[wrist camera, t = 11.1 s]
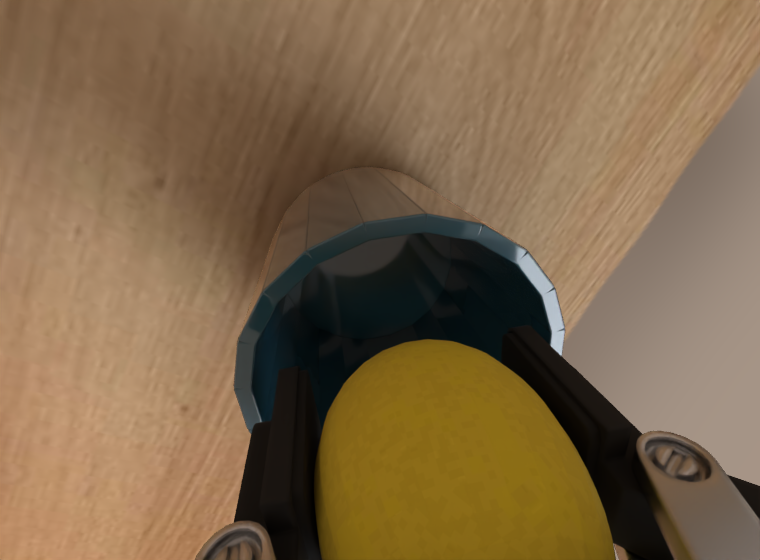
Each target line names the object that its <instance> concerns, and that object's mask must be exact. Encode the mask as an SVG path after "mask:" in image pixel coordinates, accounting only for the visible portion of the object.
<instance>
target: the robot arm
mask: <svg viewBox="0 0 760 560" xmlns="http://www.w3.org/2000/svg"><path fill="white" fill-rule="evenodd" d="M501 363H502V364H503V365H504V366H506V367H507V368H509V369H510V370H512V371H513V372H514V373H515V374H517V375H518V376H519V377H520V378H522V379H523V380H524V381H525V382H526V383H527V384H528V385H529V386H530V387H531V388H532V389H533V390H534V391H535V392H536V393H537V394H538V395H539V397H540V398H541V399H542V400H543V401H544V403H545V404H546V405H547V407H548V408H549V410H550V411H551V412H552V414H553V415H554V417H555V418H556V419H557V421H558V422H559V424H560V425H561V426H562V428H563V429H564V431H565V432H566V433H567V435H568V436H569V438H570V440H571V441H572V443H573V445H574V446H575V448H576V449H577V451H578V453H579V455H580V457H581V459H582V461H583V463H584V464H585V466H586V468H587V470H588V472H589V475H590V477H591V479H592V481H593V483H594V486H595V488H596V490H597V493H598V495H599V498H600V500H601V503H602V506H603V508H604V511H605V514H606V518H607V521H608V525H609V528H610V532H611V535H612V540H613V543H614V547H615V550H616V552H617V555H618V558H619V560H760V486H758V485H755V484H752V483H749V482H746V481H744V480H741V479H738V478H735V477H732V476H729V475H727V474H726V473H725V471H724V470H723V469H722V467H721V466H720V465H719V463H718V462H717V461H716V460H715V458H714V457H713V456H712V455H711V454H710V453H709V452H708V451H707V450H705V449H704V448H702V447H701V446H700V445H699V444H697V443H695V442H693V441H691V440H689V439H688V438H686V437H683V436H680V435H677V434H674V433H670V432H664V431H650V432H647V433H644V434H642V433H641V432H640V431H638V430H637V428H635V426H633V424H631V423H630V422H629V421H628V420H627V419H626V418H625V417H624V416H623V415H622V414H621V413H620V412H619V411H618V410H617V409H616V408H615V407H614V406H613V405H612V404H611V403H610V402H609V401H608V400H607V399H606V398H605V397H604V396H603V395H602V394H601V393H600V392H599V391H597V390H596V388H594V387H593V386H592V385H591V384H590V383H589V382H588V381H587V380H586V379H585V378H584V377H583V376H582V375H581V374H580V373H579V372H578V371H577V370H576V369H575V368H573V367H572V366H571V365H570V364H569V363H568V362H567V361H566V360H565V359H564V358H563V357H562V356H561V355H560V354H559V353H558V352H557V351H555V350H554V349H553V348H552V347H551V346H550V345H549V344H548V343H547V342H546V341H545V340H544V339H543V338H542V337H541V336H540V335H539V334H538V333H537V332H536V331H535V330H534V329H533V328H532V327H531V326H529V325H524V326H518V327H513V328H509V329H508V331H507V334H504V335H503V336H502V352H501ZM321 434H322V429H321V425H320V421H319V416H318V412H317V407H316V403H315V398H314V394H313V390H312V385H311V381H310V376H309V372H308V370H302V371H301V368H300V366H295V367H289V368H284V369H280V370H279V372H278V378H277V385H276V392H275V399H274V406H273V413H272V420H270V421H265V422H260V423H255V425H254V426H253V430H252V434H251V439H250V444H249V449H248V454H247V459H246V464H245V469H244V474H243V479H242V484H241V489H240V494H239V499H238V504H237V509H236V514H235V519H234V523H232V524H229V525H227V526H225V527H224V528H222V529H221V530H219V531H218V532H216V533H215V534H214V535H213V536H212V537H211V538H210V539H209V540H208V541H207V542H206V543H205V544H204V545H203V547H202V548H201V550H200V551H199V553H198V554H197V556H196V558H195V560H322V558H321V553H320V547H319V539H318V531H317V523H316V514H315V503H314V471H315V462H316V456H317V451H318V446H319V442H320V438H321Z"/></svg>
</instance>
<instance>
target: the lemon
mask: <svg viewBox="0 0 760 560" xmlns="http://www.w3.org/2000/svg"><path fill="white" fill-rule="evenodd" d="M314 503H315V514H316V523H317V531H318V539H319V547H320V553H321V558H322V560H616V558H615V552H614V546H613V540H612V535H611V532H610V528H609V525H608V521H607V518H606V514H605V511H604V508H603V506H602V503H601V500H600V498H599V495H598V493H597V490H596V488H595V486H594V483H593V481H592V479H591V477H590V475H589V472H588V470H587V468H586V466H585V464H584V463H583V461H582V459H581V457H580V455H579V453H578V451H577V449H576V448H575V446H574V445H573V443H572V441H571V440H570V438H569V436H568V435H567V433H566V432H565V431H564V429H563V428H562V426H561V425H560V424H559V422H558V421H557V419H556V418H555V417H554V415H553V414H552V412H551V411H550V410H549V408H548V407H547V405H546V404H545V403H544V401H543V400H542V399H541V398H540V397H539V395H538V394H537V393H536V392H535V391H534V390H533V389H532V388H531V387H530V386H529V385H528V384H527V383H526V382H525V381H524V380H523V379H522V378H520V377H519V376H518V375H517V374H515V373H514V372H513V371H512V370H510V369H509V368H507V367H506V366H504V365H503V364H502V363H500V362H499V361H497V360H496V359H494V358H493V357H491V356H490V355H488V354H487V353H485V352H482V351H480V350H478V349H475V348H472V347H469V346H466V345H463V344H460V343H457V342H453V341H446V340H432V339H425V340H418V341H411V342H405V343H402V344H399V345H397V346H394V347H391V348H388V349H386V350H383V351H382V352H380V353H378V354H377V355H375V356H374V357H372V358H371V359H369V360H367V361H366V362H364V363H363V364H362V365H361V366H360V367H359V368H358V369H357V370H356V371H355V372H354V373H353V374H352V375H351V376H350V377H349V378H348V380H347V381H346V382H345V383H344V385H343V386H342V388H341V390H340V391H339V393H338V395H337V396H336V398H335V400H334V401H333V403H332V405H331V407H330V409H329V411H328V413H327V416H326V419H325V422H324V426H323V430H322V434H321V438H320V442H319V446H318V451H317V456H316V462H315V471H314Z"/></svg>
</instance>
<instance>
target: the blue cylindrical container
mask: <svg viewBox="0 0 760 560" xmlns="http://www.w3.org/2000/svg"><path fill="white" fill-rule="evenodd" d="M524 325H529V326H531V327H532V328H533V329H534V330H535V331H536V332H537V333H538V334H539V335H540V336H541V337H542V338H543V339H544V340H545V341H546V342H547V343H548V344H549V345H550V346H551V347H552V348H553V349H554V350H555V351H557V352H558V353H559V354H560V355H561V356H562V351H563V343H564V336H565V325H564V321H563V317H562V313H561V309H560V305H559V301H558V297H557V293H556V289H555V287H554V285H553V283H552V282H551V281H550V279H549V278H548V277H547V275H546V274H545V273H544V271H543V270H542V269H541V267H540V266H539V264H538V263H537V262H536V260H535V259H534V258H533V256H532V255H531V254H530V252H529V251H527V249H525V248H524V247H522V246H521V245H519V244H518V243H516V242H514V241H513V240H511V239H510V238H508V237H506V236H505V235H503V234H502V233H500V232H498V231H497V230H495V229H494V228H492V227H491V226H489V225H487V224H486V223H484V222H483V221H481V220H479V219H478V218H476V217H475V216H473V215H471V214H470V213H468V212H467V211H465V210H464V209H462V208H460V207H459V206H457V205H456V204H454V203H452V202H451V201H449V200H448V199H446V198H444V197H443V196H441V195H440V194H438V193H437V192H435V191H433V190H432V189H430V188H428V187H427V186H425V185H423V184H422V183H420V182H418V181H417V180H415V179H413V178H412V177H410V176H408V175H407V174H404V173H400V172H397V171H394V170H390V169H385V168H378V167H357V168H351V169H346V170H342V171H339V172H336V173H333V174H330V175H328V176H326V177H324V178H322V179H320V180H318V181H317V182H315V183H314V184H312V185H311V186H309V187H308V188H307V189H306V190H304V191H303V192H302V193H301V194H300V195H299V196H298V197H297V198H296V199H295V200H294V202H293V203H292V204H291V205H290V206H289V208H288V209H287V210H286V212H285V214H284V216H283V218H282V220H281V222H280V224H279V227H278V229H277V231H276V233H275V235H274V237H273V240H272V243H271V246H270V249H269V251H268V254H267V257H266V260H265V263H264V266H263V269H262V271H261V274H260V277H259V280H258V283H257V286H256V289H255V291H254V294H253V297H252V300H251V303H250V306H249V309H248V311H247V314H246V317H245V320H244V323H243V326H242V329H241V332H240V334H239V337H238V341H237V350H236V362H235V375H234V391H235V394H236V397H237V400H238V403H239V406H240V409H241V411H242V414H243V417H244V420H245V423H246V426H247V429H248V430H249V432H250V433H251V434H252V430H253V426H254V425H255V423H260V422H265V421H270V420H272V413H273V406H274V399H275V392H276V385H277V378H278V372H279V370H280V369H284V368H289V367H295V366H300V368H301V371H302V370H308V372H309V376H310V381H311V385H312V390H313V394H314V398H315V403H316V407H317V412H318V416H319V421H320V425H321V429H322V430H323V426H324V422H325V419H326V416H327V413H328V411H329V409H330V407H331V405H332V403H333V401H334V400H335V398H336V396H337V395H338V393H339V391H340V390H341V388H342V386H343V385H344V383H345V382H346V381H347V380H348V378H349V377H350V376H351V375H352V374H353V373H354V372H355V371H356V370H357V369H358V368H359V367H360V366H361V365H362V364H363V363H364V362H366V361H367V360H369V359H371V358H372V357H374V356H375V355H377V354H378V353H380V352H382V351H383V350H386V349H388V348H391V347H394V346H397V345H399V344H402V343H405V342H411V341H418V340H425V339H432V340H446V341H453V342H457V343H460V344H463V345H466V346H469V347H472V348H475V349H478V350H480V351H482V352H485V353H487V354H488V355H490V356H491V357H493V358H494V359H496V360H497V361H499V362H500V363H501V352H502V336H503V335H504V334H507V331H508V329H509V328H513V327H518V326H524Z"/></svg>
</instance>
